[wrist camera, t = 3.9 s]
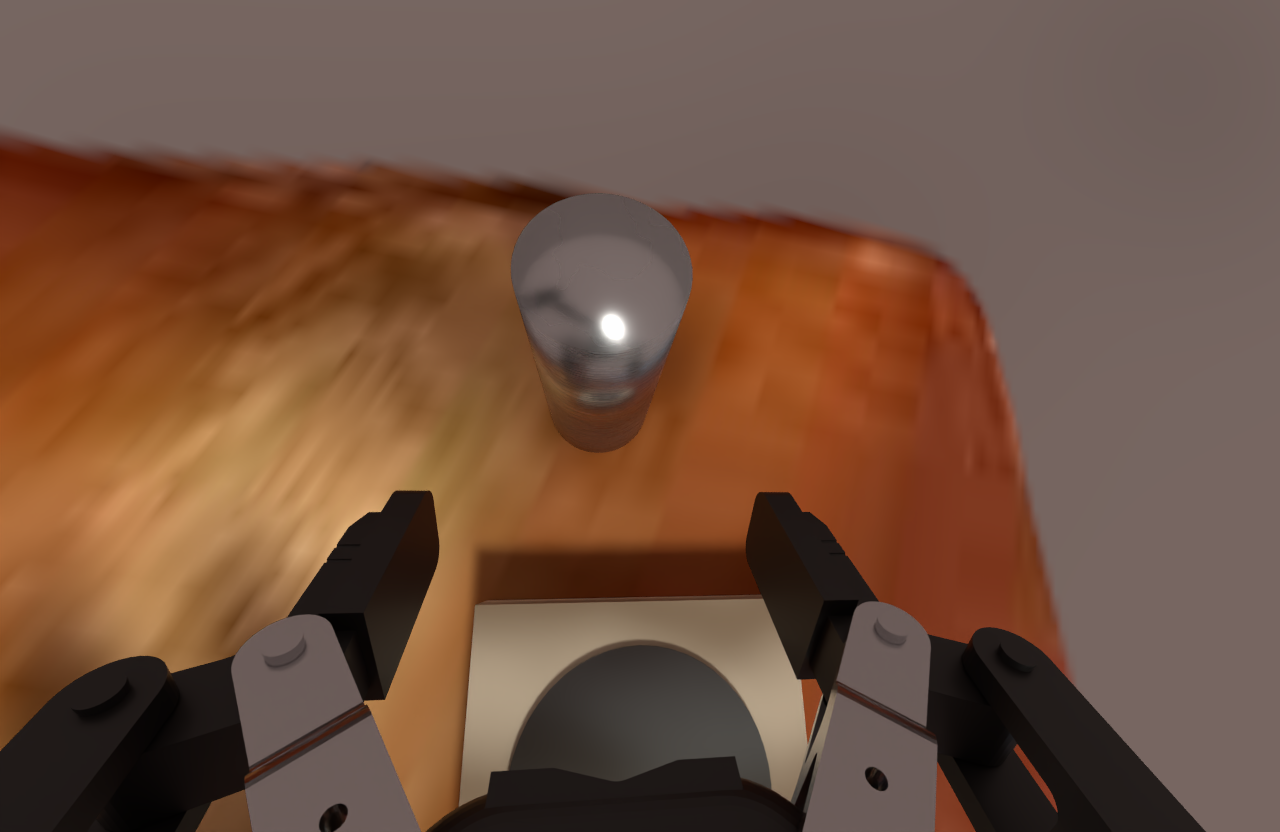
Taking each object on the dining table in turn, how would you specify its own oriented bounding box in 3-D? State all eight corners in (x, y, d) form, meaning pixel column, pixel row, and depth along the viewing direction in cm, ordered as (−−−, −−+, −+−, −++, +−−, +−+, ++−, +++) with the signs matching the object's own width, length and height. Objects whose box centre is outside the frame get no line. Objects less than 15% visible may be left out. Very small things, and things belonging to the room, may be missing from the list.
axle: (531, 399, 22) (473, 252, 11) (605, 345, 23) (614, 166, 12) (591, 472, 21) (589, 387, 11) (665, 412, 22) (728, 283, 12)
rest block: (487, 600, 19) (473, 605, 17) (774, 594, 20) (794, 598, 18) (458, 986, 16) (437, 1051, 14) (805, 953, 17) (835, 1009, 15)
